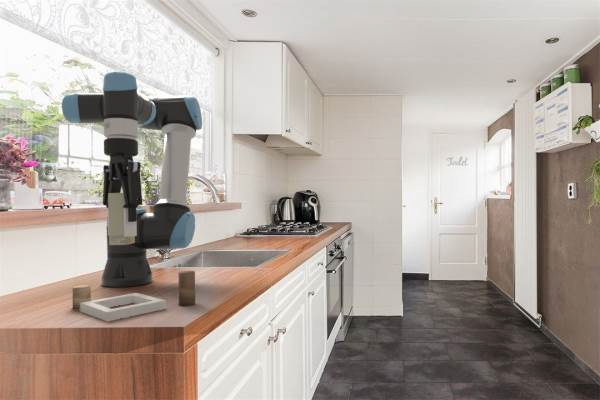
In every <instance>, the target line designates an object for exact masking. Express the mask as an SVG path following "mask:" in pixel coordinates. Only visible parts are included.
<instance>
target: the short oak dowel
mask: <svg viewBox="0 0 600 400" xmlns="http://www.w3.org/2000/svg"><path fill="white" fill-rule="evenodd" d="M71 289H72V292H71V293H72V310H80V303H82V302H88V301H92V300H91V299H92V290H91V289H92V286H91V285H87V284H86V285H77V286H72V288H71Z"/></svg>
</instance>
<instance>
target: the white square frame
mask: <svg viewBox="0 0 600 400" xmlns="http://www.w3.org/2000/svg"><path fill="white" fill-rule="evenodd" d="M166 303H167V302H166V300H165V299H161V298H158V297H154V296H151V295H145V294H142V293H138V292H132V293H127V294H122V295H115V296H110V297H106V298H100V299H95V300H91V301H88V302H82V303H80V309H79V312H81V313H84V314H87V315H89V316H91V317H95V318H97V319H100V320H101V321H102V320H103V321H105V322H112V321H116V319H117V320H121V319H120V318H122V319H125V318H130V316H131V317H134V316H139V315H143V314H144V315H145V314H148V313H153V312H158V311H162V310H166V307H167V304H166ZM129 304H130V305H129ZM119 305H120V306H121V307H120V306H119ZM114 306H115V307H116V308H114ZM118 306H119V307H118Z"/></svg>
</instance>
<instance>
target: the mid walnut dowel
mask: <svg viewBox="0 0 600 400" xmlns="http://www.w3.org/2000/svg"><path fill="white" fill-rule="evenodd" d="M177 276H178V306H180V307H190V306H191V307H192V306H194V305H196V271H195V270H182V271H178V275H177Z"/></svg>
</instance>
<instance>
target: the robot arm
mask: <svg viewBox="0 0 600 400" xmlns="http://www.w3.org/2000/svg"><path fill="white" fill-rule="evenodd" d="M102 83H103V86H102V93H79V92H78V93H77V92H76V93H70V94H66V95H64V96H63V98H62V101H61V109H62V110H61V111H62V114H63V117H64V119H65V120H66V121H68V123H71V124H72V123H73V124H101V125H102V127H103V136H104V137H105V139H104V140H103V153H104V155H106V156H109V158H110V159H109V164H107V165H106V164H105V165H103V166H102V167H103V168H102V169H103V186H102V187H103V191H102V192H103V193H102V206H106V208H107V219H106V226H105V229H106V253H107V254H106V256H107V257H106V258H107V259H106V263H105V265H104V269H103V272H102V275H101V277H100V278H101V279H100V281H101V286H104V287H110V288H116V287H117V288H120V287H121V288H123V287H134V286H135V287H136V286H141V285H146V284H149V283H151V282H153V272H152V269H151V266H150V263H149V261H148V257H147V250H173V251H174V250H178V249H179V250H182V249H183V250H184V249H186V248H187V247H189V246H191V245H190V244H191V243H192V241H193V239H194V237H195V236H194V235H195V231H196V230H195V229H196V216H195V214H194V213H193V212H191V207H190V206H189V205H188V204H187V194H188V182H189V169H190V155H191V144H192V139H194V138H195V137H196V136H197V131H200V130H201V129H203V118H202V110H201V106H200V104H199V101H198V99H197V98H196V97H195V96H192V95H184V94H183V95H169V96H168V95H166V96H165V95H164V96H163V95H160V96H159V95H157V96H155V95H153V96H146V95H145V94H143V93H141V92H140V91H139V90H138V89H139V85H138V78H137V76H135V75H134V74H132V73H129V72H125V71H110V72H109V71H108V72H107V73H105V74H104V76H103V82H102ZM139 128H140V129H145V130H151V131H152V130H153V131H160V132H161V134H162V135H163V136H164V145H163V154H162V165H161V174H160V186H159V193H158V194H159V195H158V201H157V202H156V203H155V204H153V205H152V211H151V212H147V210H146V208H139V206H142V205H143V193H142V181H141V166H142V165H141V164H142V163H141V162H139V161H135V160H134V157H136V156H138V155H139V141H138V137H139ZM121 190H122V191H121ZM108 193H123V194H124V199H125V205H124V206H123V208H124V237H128V236H135V243H132V244H128V245H109V210H108Z"/></svg>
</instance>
